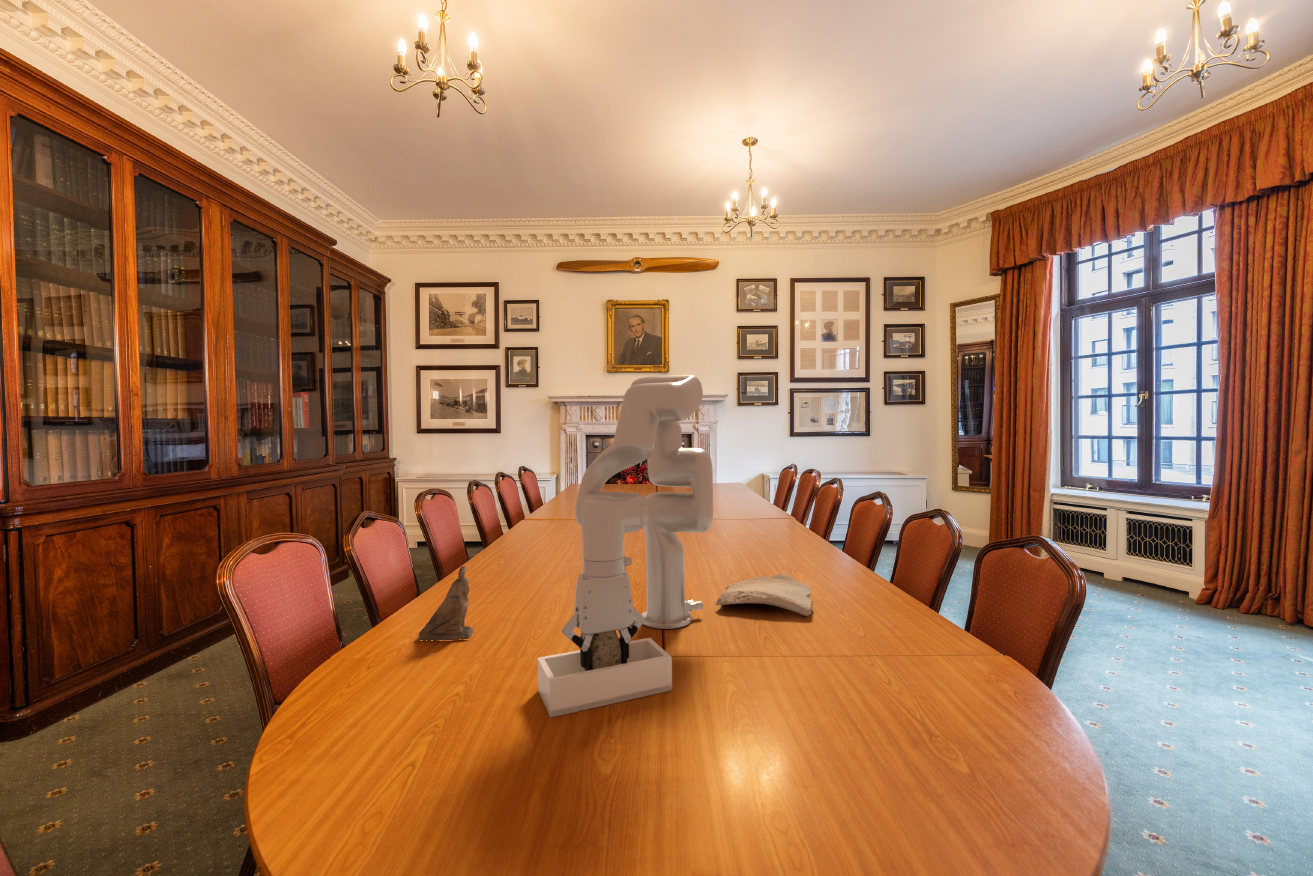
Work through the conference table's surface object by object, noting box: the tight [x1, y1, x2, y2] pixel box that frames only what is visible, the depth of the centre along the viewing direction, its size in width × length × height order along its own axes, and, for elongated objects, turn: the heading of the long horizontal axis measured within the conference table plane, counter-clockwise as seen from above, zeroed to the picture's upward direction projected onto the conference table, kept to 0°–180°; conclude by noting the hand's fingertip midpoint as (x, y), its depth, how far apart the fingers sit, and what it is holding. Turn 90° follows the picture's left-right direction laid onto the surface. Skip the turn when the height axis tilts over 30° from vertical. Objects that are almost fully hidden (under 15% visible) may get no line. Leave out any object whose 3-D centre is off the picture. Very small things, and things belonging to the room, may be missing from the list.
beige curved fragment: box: [715, 573, 814, 617], centre depth 144 cm, size 24×8×20 cm
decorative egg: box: [589, 630, 622, 670], centre depth 96 cm, size 6×6×10 cm
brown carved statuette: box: [418, 565, 475, 642], centre depth 123 cm, size 12×6×18 cm, turn 87°
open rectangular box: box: [537, 637, 673, 718], centre depth 96 cm, size 22×10×6 cm, turn 114°
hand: (605, 665), depth 96 cm, fingers closed on decorative egg, 6 cm apart
